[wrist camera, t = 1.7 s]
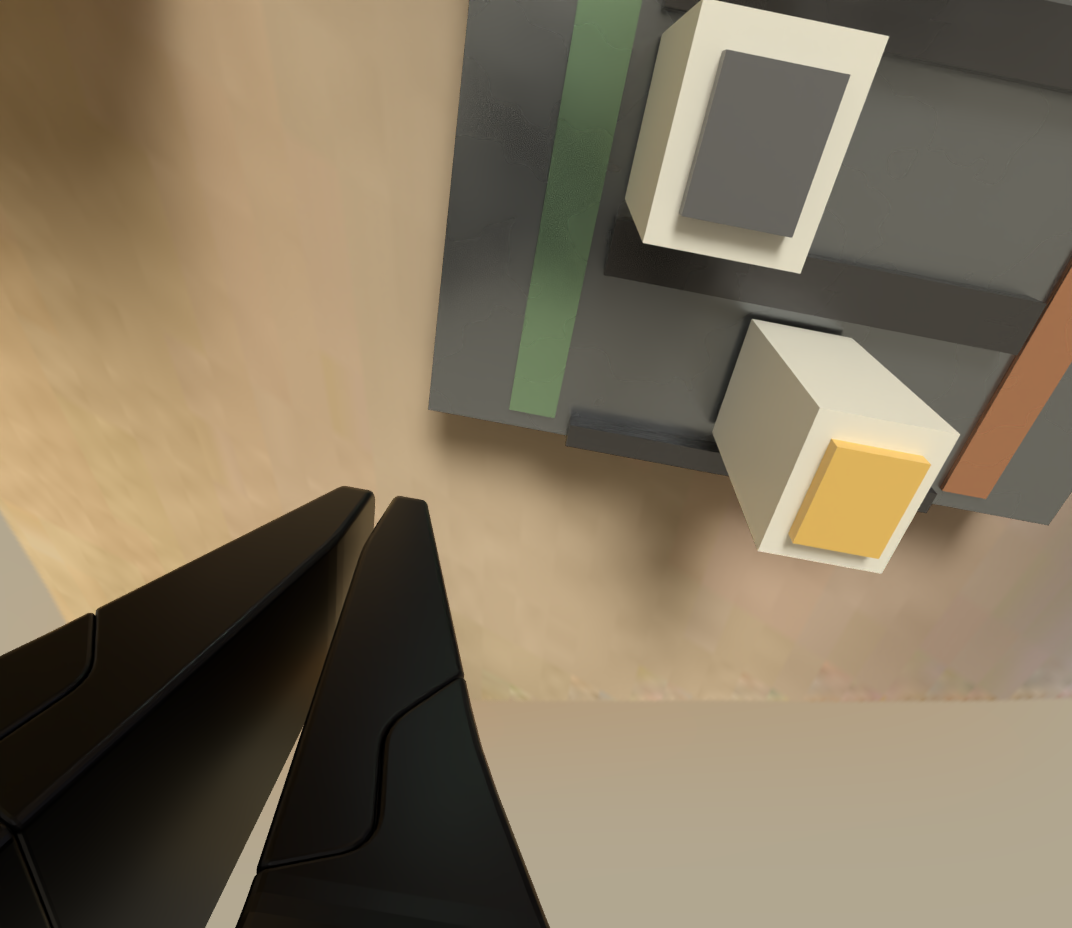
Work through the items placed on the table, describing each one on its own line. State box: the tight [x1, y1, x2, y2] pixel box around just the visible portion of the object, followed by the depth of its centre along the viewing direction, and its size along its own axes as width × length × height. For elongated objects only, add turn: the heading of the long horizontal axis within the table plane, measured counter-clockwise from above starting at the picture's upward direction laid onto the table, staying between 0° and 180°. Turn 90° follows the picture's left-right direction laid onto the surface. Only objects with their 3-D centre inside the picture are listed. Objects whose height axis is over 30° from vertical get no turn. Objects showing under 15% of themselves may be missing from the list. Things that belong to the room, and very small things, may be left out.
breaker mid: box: [625, 0, 889, 274], centre depth 11 cm, size 2×3×5 cm
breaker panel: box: [428, 0, 1072, 525], centre depth 14 cm, size 17×15×3 cm
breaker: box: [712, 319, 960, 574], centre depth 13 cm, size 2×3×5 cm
